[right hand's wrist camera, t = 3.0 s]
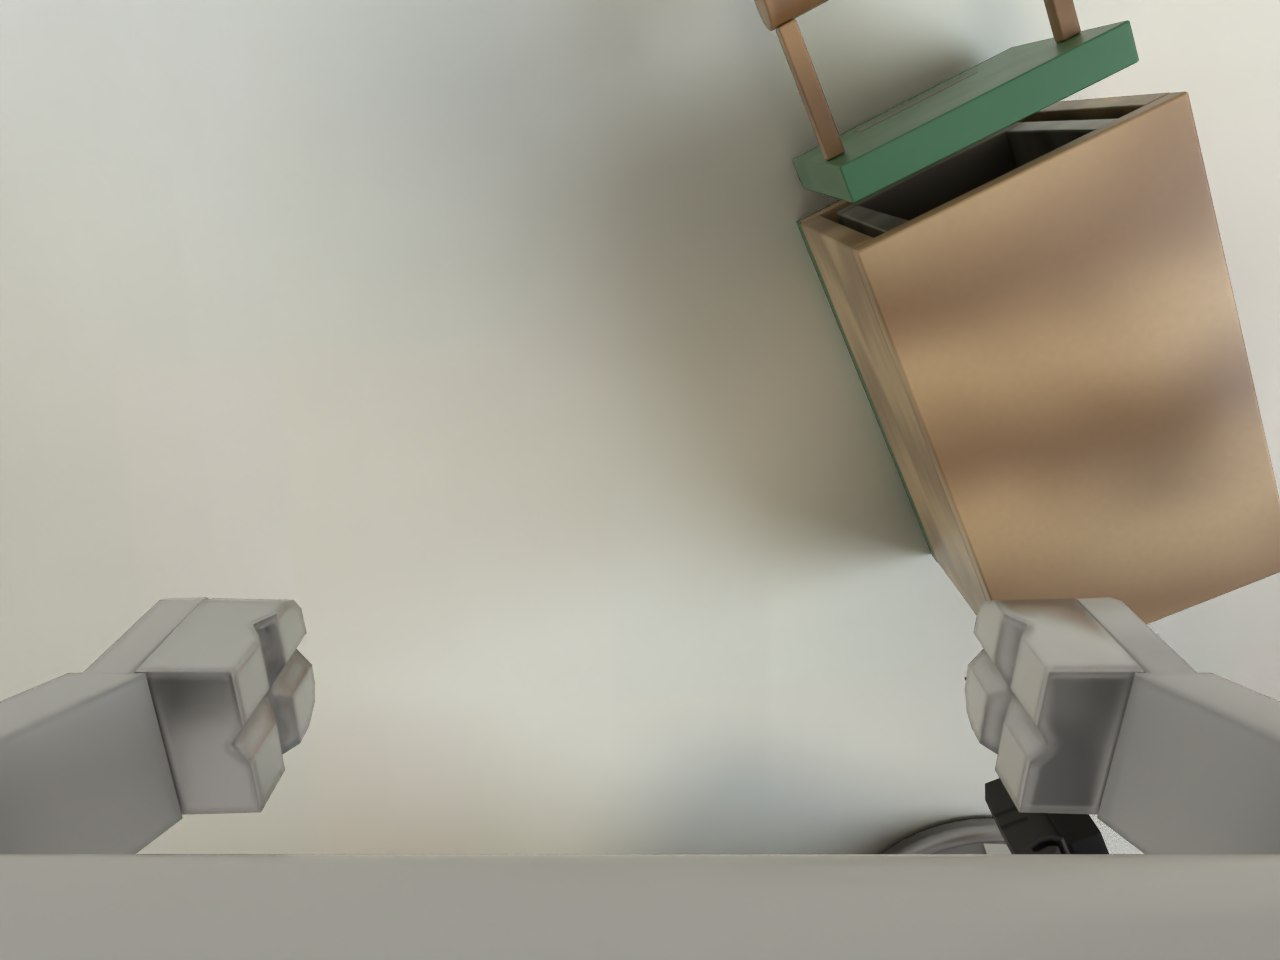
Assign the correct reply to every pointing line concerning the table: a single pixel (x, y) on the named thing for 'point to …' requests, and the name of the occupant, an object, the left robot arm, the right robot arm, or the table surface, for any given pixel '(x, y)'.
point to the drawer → (948, 119)
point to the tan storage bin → (1067, 371)
